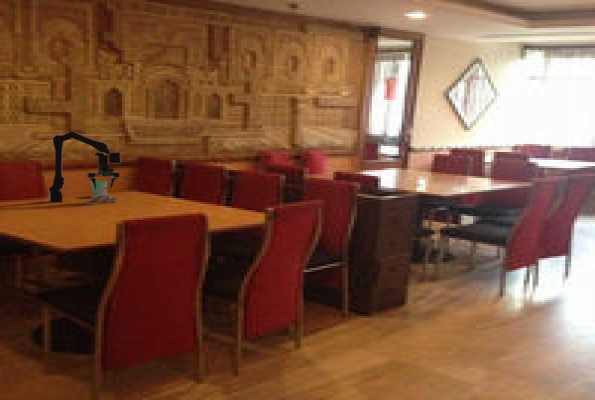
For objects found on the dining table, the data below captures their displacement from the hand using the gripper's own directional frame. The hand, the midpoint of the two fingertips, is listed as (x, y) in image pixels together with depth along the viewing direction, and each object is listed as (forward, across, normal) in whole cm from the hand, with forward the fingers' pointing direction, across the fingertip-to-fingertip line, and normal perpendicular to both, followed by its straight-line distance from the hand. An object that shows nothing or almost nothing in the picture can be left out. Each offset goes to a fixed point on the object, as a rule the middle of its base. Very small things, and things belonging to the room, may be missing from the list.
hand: (103, 188), depth 382 cm
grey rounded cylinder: (+8, 0, 0) cm, 8 cm away
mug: (+8, +4, +25) cm, 26 cm away
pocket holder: (+8, 0, 0) cm, 8 cm away
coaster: (+8, -10, -8) cm, 15 cm away
